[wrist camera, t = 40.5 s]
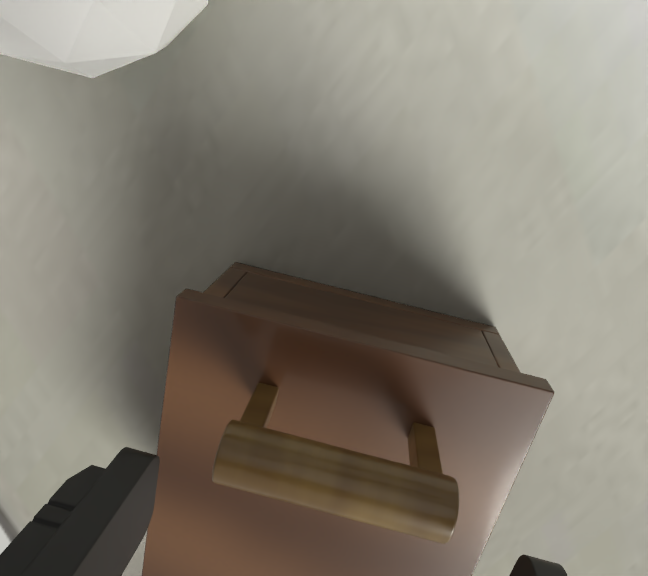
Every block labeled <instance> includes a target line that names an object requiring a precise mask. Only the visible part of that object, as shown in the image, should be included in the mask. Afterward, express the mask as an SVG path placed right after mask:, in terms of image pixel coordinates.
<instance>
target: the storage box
mask: <svg viewBox="0 0 648 576" xmlns="http://www.w3.org/2000/svg"><path fill="white" fill-rule="evenodd" d="M203 293H206V294H210V295H214V296H218V297H222V298H226V299H230V300H234V301H238V302H242V303H246V304H250V305H254V306H258V307H262V308H266V309H270V310H274V311H278V312H282V313H286V314H289V315H293V316H297V317H301V318H305V319H309V320H313V321H317V322H321V323H325V324H329V325H333V326H337V327H341V328H345V329H349V330H353V331H357V332H361V333H365V334H369V335H373V336H377V337H381V338H385V339H388V340H392V341H396V342H400V343H404V344H408V345H412V346H416V347H420V348H424V349H428V350H432V351H436V352H440V353H444V354H448V355H452V356H456V357H460V358H464V359H468V360H472V361H476V362H480V363H484V364H487V365H491V366H495V367H499V368H503V369H507V370H511V371H515V372H519V373H520V371H519V369H518V367H517V365H516V364H515V362H514V360H513V358H512V356H511V355H510V353H509V351H508V349H507V347H506V346H505V344H504V342H503V340H502V338H501V337H500V335H499V333H498V331H497V329H496V327H493V326H489V325H485V324H481V323H477V322H473V321H469V320H465V319H461V318H457V317H453V316H449V315H445V314H441V313H437V312H433V311H429V310H425V309H421V308H417V307H413V306H409V305H405V304H401V303H397V302H393V301H389V300H385V299H381V298H377V297H373V296H369V295H365V294H361V293H357V292H353V291H349V290H345V289H341V288H337V287H333V286H329V285H325V284H321V283H317V282H313V281H309V280H305V279H301V278H297V277H293V276H289V275H285V274H281V273H277V272H273V271H269V270H265V269H261V268H257V267H253V266H249V265H245V264H241V263H237V262H235V263H234V264H233V265H232V266H231V267H230V268H229V269H228V270H226V271H225V272H224V273H223V274H222V275H221V276H220V277H219V278H218V279H217V280H216V281H215V282H214V283H213V284H212V285H211V286H210V287H209V288H207V289H206V290H205V291H204V292H203Z"/></svg>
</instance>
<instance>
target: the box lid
mask: <svg viewBox="0 0 648 576" xmlns="http://www.w3.org/2000/svg"><path fill="white" fill-rule="evenodd" d="M553 395H554V391H553V389H552V388H551V386H550V385H549V383H548V381H547V380H546V379H543V378H539V377H535V376H531V375H527V374H523V373H519V372H515V371H511V370H507V369H503V368H499V367H495V366H491V365H487V364H484V363H480V362H476V361H472V360H468V359H464V358H460V357H456V356H452V355H448V354H444V353H440V352H436V351H432V350H428V349H424V348H420V347H416V346H412V345H408V344H404V343H400V342H396V341H392V340H388V339H385V338H381V337H377V336H373V335H369V334H365V333H361V332H357V331H353V330H349V329H345V328H341V327H337V326H333V325H329V324H325V323H321V322H317V321H313V320H309V319H305V318H301V317H297V316H293V315H289V314H286V313H282V312H278V311H274V310H270V309H266V308H262V307H258V306H254V305H250V304H246V303H242V302H238V301H234V300H230V299H226V298H222V297H218V296H214V295H210V294H206V293H202V292H198V291H194V290H190V289H185V290H184V291H183V292H181V293H180V294H179V295H178V296H177V297H176V303H175V311H174V320H173V328H172V336H171V344H170V352H169V360H168V368H167V376H166V384H165V392H164V400H163V408H162V416H161V424H160V432H159V441H158V449H157V456H159V458H160V464H159V472H158V480H157V487H156V495H155V503H154V510H153V514H152V517H151V520H150V523H149V526H148V529H147V537H146V545H145V553H144V562H143V570H142V576H472V575H473V572H474V570H475V568H476V566H477V563H478V561H479V559H480V557H481V555H482V552H483V550H484V548H485V546H486V543H487V541H488V539H489V537H490V535H491V532H492V530H493V528H494V526H495V524H496V521H497V519H498V517H499V515H500V512H501V510H502V508H503V506H504V504H505V501H506V499H507V497H508V495H509V492H510V490H511V488H512V486H513V484H514V481H515V479H516V477H517V475H518V472H519V470H520V468H521V466H522V464H523V461H524V459H525V457H526V455H527V453H528V450H529V448H530V446H531V444H532V441H533V439H534V437H535V435H536V433H537V430H538V428H539V426H540V424H541V421H542V419H543V417H544V415H545V413H546V410H547V408H548V406H549V404H550V401H551V399H552V397H553Z"/></svg>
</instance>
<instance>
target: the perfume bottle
mask: <svg viewBox="0 0 648 576" xmlns="http://www.w3.org/2000/svg"><path fill="white" fill-rule="evenodd" d="M207 5H208V0H0V54H1V55H5V56H9V57H13V58H17V59H21V60H24V61H28V62H32V63H36V64H40V65H44V66H47V67H51V68H55V69H59V70H63V71H67V72H70V73H74V74H78V75H82V76H86V77H90V78H95V77H97V76H100V75H102V74H105V73H107V72H110V71H112V70H115V69H117V68H120V67H123V66H125V65H128V64H130V63H133V62H135V61H138V60H140V59H143V58H145V57H148V56H150V55H153V54H155V53H157V52H158V51H160V50H162V49H163V48H165V47H166V46H167V45H168V44H169V43H170V42H171V41H172V40H173V39H174V38H175V37H176V36H177V35H178V34H179V33H180V32H181V31H182V30H183V29H184V28H185V27H186V26H187V25H188V24H189V23H190V22H191V21H192V20H193V19H194V18H195V17H196V16H197V15H198V14H199V13H200V12H201V11H202V10H203V9H204V8H205V7H206V6H207Z"/></svg>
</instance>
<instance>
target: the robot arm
mask: <svg viewBox="0 0 648 576" xmlns="http://www.w3.org/2000/svg"><path fill="white" fill-rule="evenodd" d="M159 464H160V458H159V456H157V455H153V454H150V453H146V452H142V451H139V450H135V449H132V448H128V447H125V448H123V449H122V450H121V451H120V452H119V453H118V455H117V456H116V457H115V458H114V460H113V461H112V462H111V463H110V464H109V466H108V467H107V468H106V469H105V468H101V467H97V466H94V465H91V466H89V467H88V468H86V469H84V470H82V471H81V472H79V473H77V474H76V475H74V476H72V477H71V478H69V479H67V480H66V482H65V483H64V484H63V485H62V486H61V487H60V488H59V489H58V491H57V492H56V493H55V494H54V495H53V496H52V497H51V498H50V500H49V502H48V504H45V505H44V506H43V507H42V509H41V510H40V511H39V512H38V513H37V514H36V515H35V516H34V519H33V521H32V522H31V521H30V522H29V523H28V524H27V525H26V527H25V528H24V529H23V530H22V531H21V532H20V533H19V534H18V536H17V537H16V538H15V539H14V540H13V541H12V542H11V543H10V545H9V546H8V547H7V548H6V549H5V550H4V551H3V552H2V554H1V555H0V576H121V575H122V573H123V572H124V570H125V568H126V566H127V565H128V563H129V561H130V560H131V558H132V556H133V554H134V553H135V551H136V549H137V548H138V546H139V544H140V542H141V541H142V539H143V537H144V535H145V533H146V531H147V528H148V526H149V523H150V520H151V517H152V514H153V510H154V503H155V495H156V487H157V480H158V472H159ZM510 576H567V574H566V572H565V570H564V568H563V567H562V566H561V565H559V564H556V563H553V562H549V561H545V560H542V559H538V558H535V557H531V556H527V555H522V556H520V557H519V558H518V560H517V562H516V564H515V566H514V568H513V570H512V572H511V574H510Z"/></svg>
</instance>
